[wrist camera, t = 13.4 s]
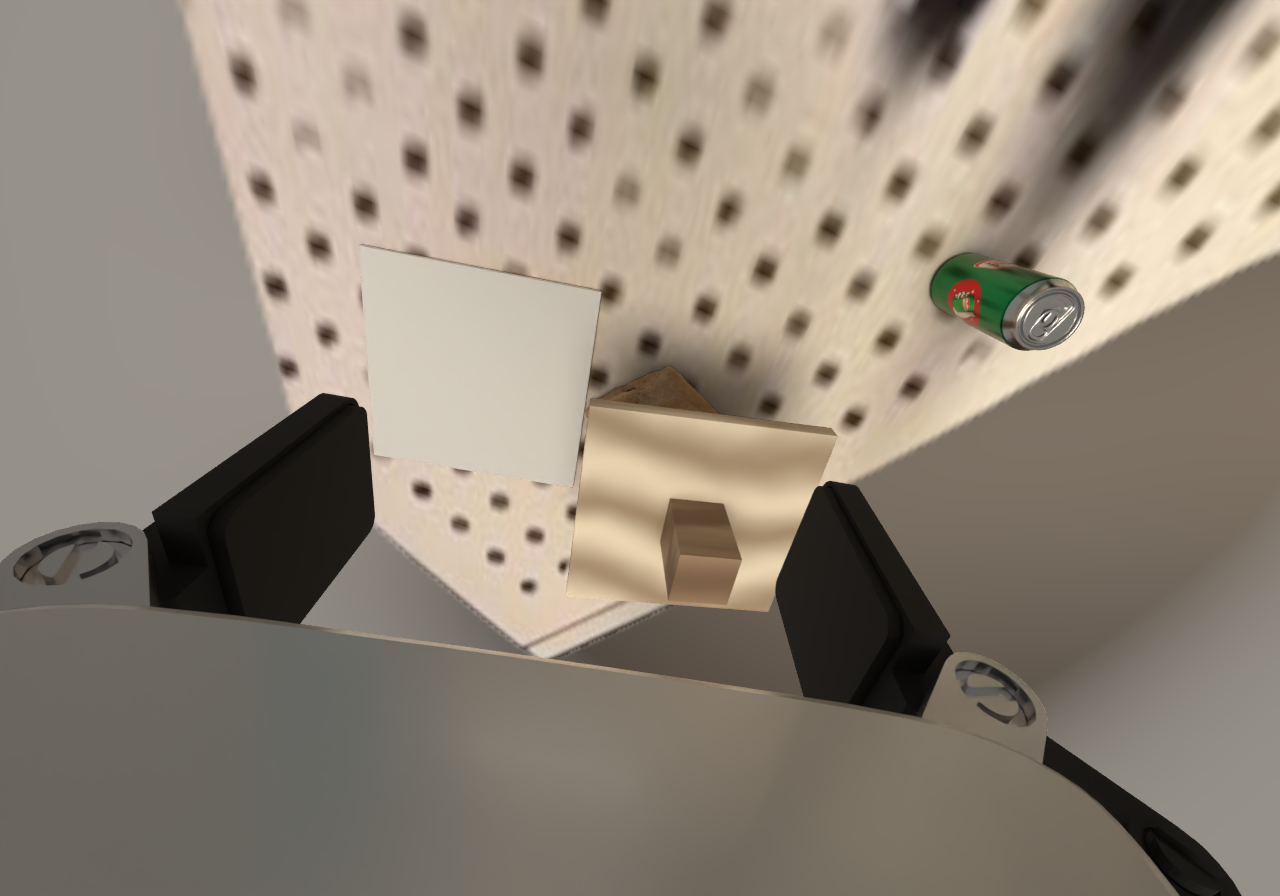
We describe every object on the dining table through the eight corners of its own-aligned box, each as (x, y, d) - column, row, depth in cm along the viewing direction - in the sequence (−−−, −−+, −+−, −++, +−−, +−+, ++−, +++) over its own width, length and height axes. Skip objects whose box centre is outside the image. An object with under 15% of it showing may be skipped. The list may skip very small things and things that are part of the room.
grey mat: (361, 244, 45) (358, 245, 44) (601, 290, 46) (601, 292, 46) (376, 451, 55) (374, 454, 55) (573, 484, 56) (572, 487, 56)
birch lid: (590, 398, 34) (587, 453, 28) (831, 427, 37) (877, 485, 30) (566, 585, 43) (560, 660, 36) (764, 600, 45) (790, 673, 39)
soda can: (1002, 267, 45) (1109, 299, 34) (962, 320, 47) (1050, 366, 36) (954, 241, 44) (1048, 267, 33) (915, 297, 46) (993, 338, 36)
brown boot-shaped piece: (769, 440, 53) (806, 532, 40) (677, 501, 57) (684, 602, 44) (678, 328, 48) (687, 392, 35) (583, 403, 52) (560, 486, 39)
